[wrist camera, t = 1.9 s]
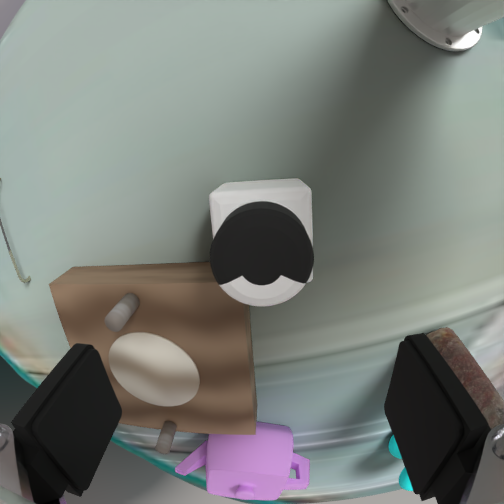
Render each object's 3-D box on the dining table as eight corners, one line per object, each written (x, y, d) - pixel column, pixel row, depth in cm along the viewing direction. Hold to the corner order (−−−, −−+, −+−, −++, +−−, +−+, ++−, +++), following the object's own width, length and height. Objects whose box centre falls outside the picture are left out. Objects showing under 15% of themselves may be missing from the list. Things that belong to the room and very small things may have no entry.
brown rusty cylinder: (401, 377, 34) (456, 503, 15) (402, 334, 32) (478, 469, 13) (450, 360, 33) (518, 468, 14) (455, 316, 31) (546, 426, 12)
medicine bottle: (222, 182, 28) (190, 205, 16) (300, 177, 27) (325, 197, 16) (229, 256, 30) (206, 321, 18) (303, 252, 29) (324, 317, 18)
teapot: (186, 448, 41) (173, 499, 31) (185, 408, 37) (167, 467, 28) (298, 461, 41) (301, 512, 31) (315, 423, 37) (323, 482, 27)
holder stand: (73, 266, 31) (24, 302, 22) (245, 260, 30) (236, 306, 21) (117, 396, 37) (92, 442, 29) (257, 405, 36) (254, 463, 27)
